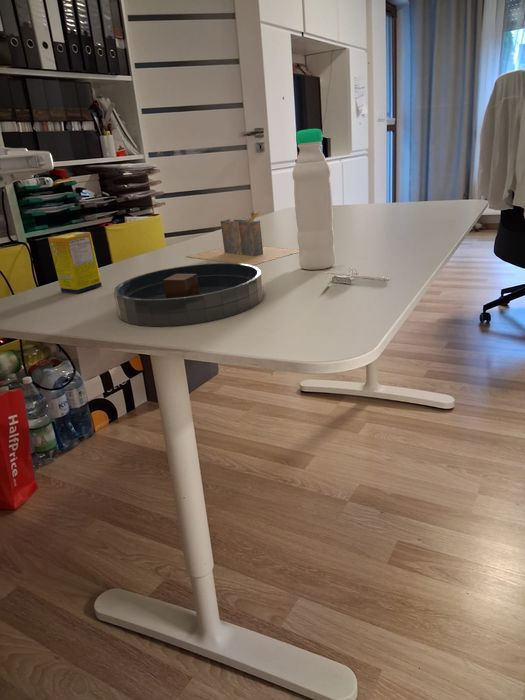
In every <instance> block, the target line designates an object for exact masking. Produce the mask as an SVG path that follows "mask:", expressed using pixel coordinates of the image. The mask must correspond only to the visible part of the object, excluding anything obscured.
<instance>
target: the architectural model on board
mask: <svg viewBox="0 0 525 700" xmlns="http://www.w3.org/2000/svg"><path fill="white" fill-rule="evenodd" d="M259 215H260V211H257V212H255V210H253V211H252V212H250V218H249V219H233V220H231V219H230V218H229V219H223V220H220V229H221V235H222V244H223V247H224V250H223V249H220V248H221V247H220V248H215V249H211V250H207V251H203V252H199V253H195V254H191V255H187V256H185V257H186V258H193V259H194V258H195V259H201V260H208V261H215V262H221V263H238V264H247V265H252V266H255V265H258V264H263V263H266V262H269V261H272V260H277V259H280V258H284V257H288V256H291V255H294V254H297V253H298V254H299V249H296V248H295V249H294V248H283V247H273V246H272V247H271V246H264V245H263V239H262V227H261V220H255V219H256V218H257V217H259Z"/></svg>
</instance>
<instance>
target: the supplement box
mask: <svg viewBox="0 0 525 700" xmlns="http://www.w3.org/2000/svg"><path fill="white" fill-rule="evenodd" d="M47 240H48V244H49V248H50V252H51V256H52V260H53V265H54V268H55V272H56V276H57V280H58V284H59V288H60V292H62V293H69V294H70V293H71V294H81V293H84V292H87V291H90V290H93V289H96V288H99V287H102V286H103V284H102V279H101V275H100V271H99V265H98V261H97V257H96V252H95V247H94V244H93V238H92V235H91V232H90V231H81V232H80V231H74V232H69V233H65V234H60V235H55V236H49V237H47Z"/></svg>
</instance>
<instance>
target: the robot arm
mask: <svg viewBox="0 0 525 700" xmlns="http://www.w3.org/2000/svg"><path fill="white" fill-rule="evenodd" d="M54 165H55V163H54V159H53V155H52V154H51V152H50V151H47V150H28V149H27V148H26V147H5V146H2V145H1V146H0V188H4V187H6V186H9V185H11V184H13V183H15V182H20V181H24V180H29V179H33V178H34V176H36V175H40V174H44V173H47V172H50V171H52V170H54V169H55V168H54V167H55V166H54Z"/></svg>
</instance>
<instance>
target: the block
mask: <svg viewBox="0 0 525 700" xmlns="http://www.w3.org/2000/svg"><path fill="white" fill-rule="evenodd" d="M163 282H164V288H165V294H166V299H169V298H180V297H188V296H195V295H200V292H199V286H198V279H197V274H175V275H173V276H170V277H168V278H166V279H164V280H163Z"/></svg>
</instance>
